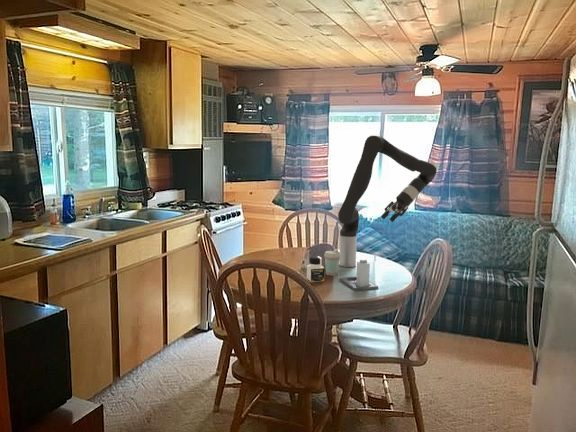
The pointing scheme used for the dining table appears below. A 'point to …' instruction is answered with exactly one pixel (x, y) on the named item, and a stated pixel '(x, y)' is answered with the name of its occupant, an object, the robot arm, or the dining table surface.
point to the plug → (363, 273)
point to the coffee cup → (332, 262)
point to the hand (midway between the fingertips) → (386, 219)
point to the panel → (352, 284)
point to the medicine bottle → (315, 269)
